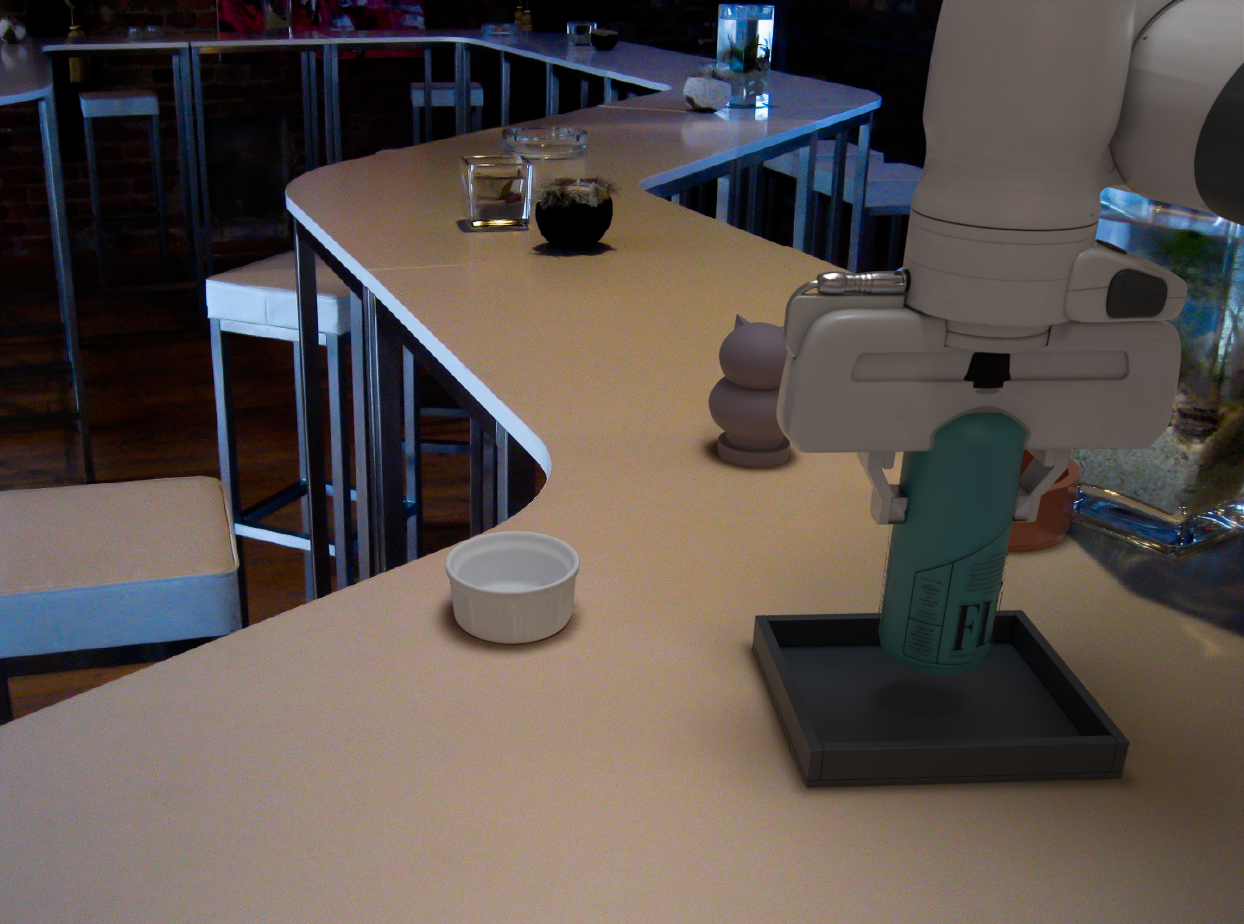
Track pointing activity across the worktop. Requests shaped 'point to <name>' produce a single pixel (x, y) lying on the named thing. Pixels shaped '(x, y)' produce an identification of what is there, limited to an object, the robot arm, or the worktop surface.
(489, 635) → the ramekin
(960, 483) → the beverage bottle
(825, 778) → the tray
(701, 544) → the worktop surface
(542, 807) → the worktop surface
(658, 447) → the worktop surface
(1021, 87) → the robot arm
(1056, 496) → the bowl
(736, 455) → the cat figurine
